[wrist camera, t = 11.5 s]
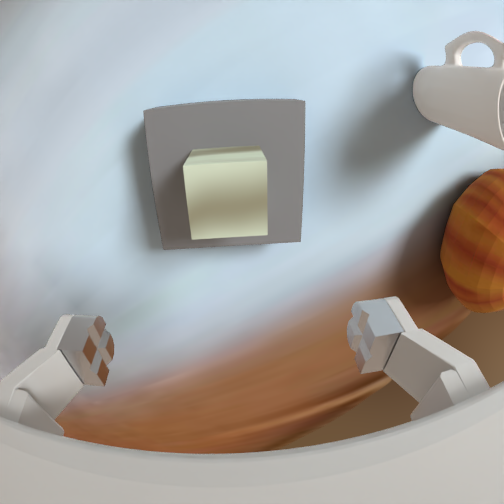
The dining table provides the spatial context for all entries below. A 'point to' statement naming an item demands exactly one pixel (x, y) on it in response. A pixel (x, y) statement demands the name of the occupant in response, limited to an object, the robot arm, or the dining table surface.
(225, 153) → the cube
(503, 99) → the mug
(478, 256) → the pumpkin
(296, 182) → the riser block
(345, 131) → the dining table surface
